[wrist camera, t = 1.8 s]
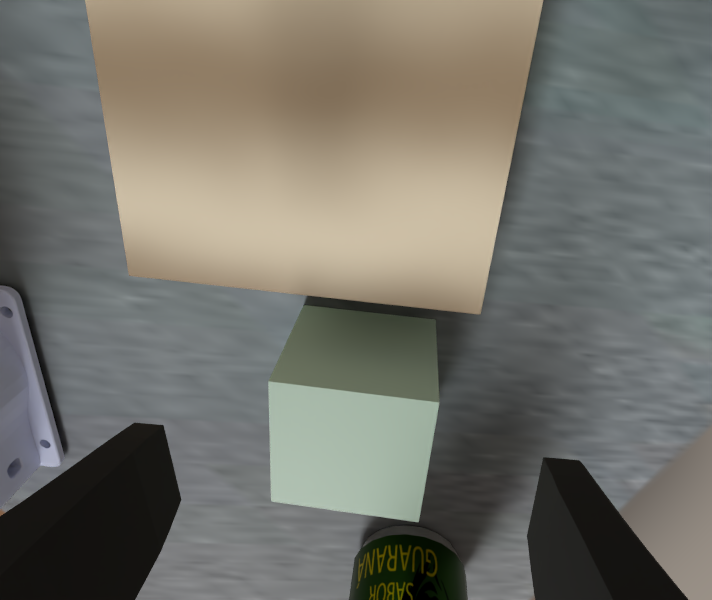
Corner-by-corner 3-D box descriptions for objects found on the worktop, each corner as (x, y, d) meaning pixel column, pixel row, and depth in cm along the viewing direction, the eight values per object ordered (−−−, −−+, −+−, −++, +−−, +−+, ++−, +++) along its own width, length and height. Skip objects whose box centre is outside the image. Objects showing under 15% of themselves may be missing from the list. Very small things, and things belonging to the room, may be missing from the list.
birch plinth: (471, 274, 18) (480, 314, 15) (171, 242, 19) (129, 275, 16) (545, -124, 13) (577, -170, 10) (127, -142, 13) (55, -188, 11)
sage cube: (419, 422, 21) (418, 522, 17) (302, 407, 21) (271, 501, 17) (435, 318, 19) (439, 402, 14) (304, 303, 19) (268, 381, 15)
